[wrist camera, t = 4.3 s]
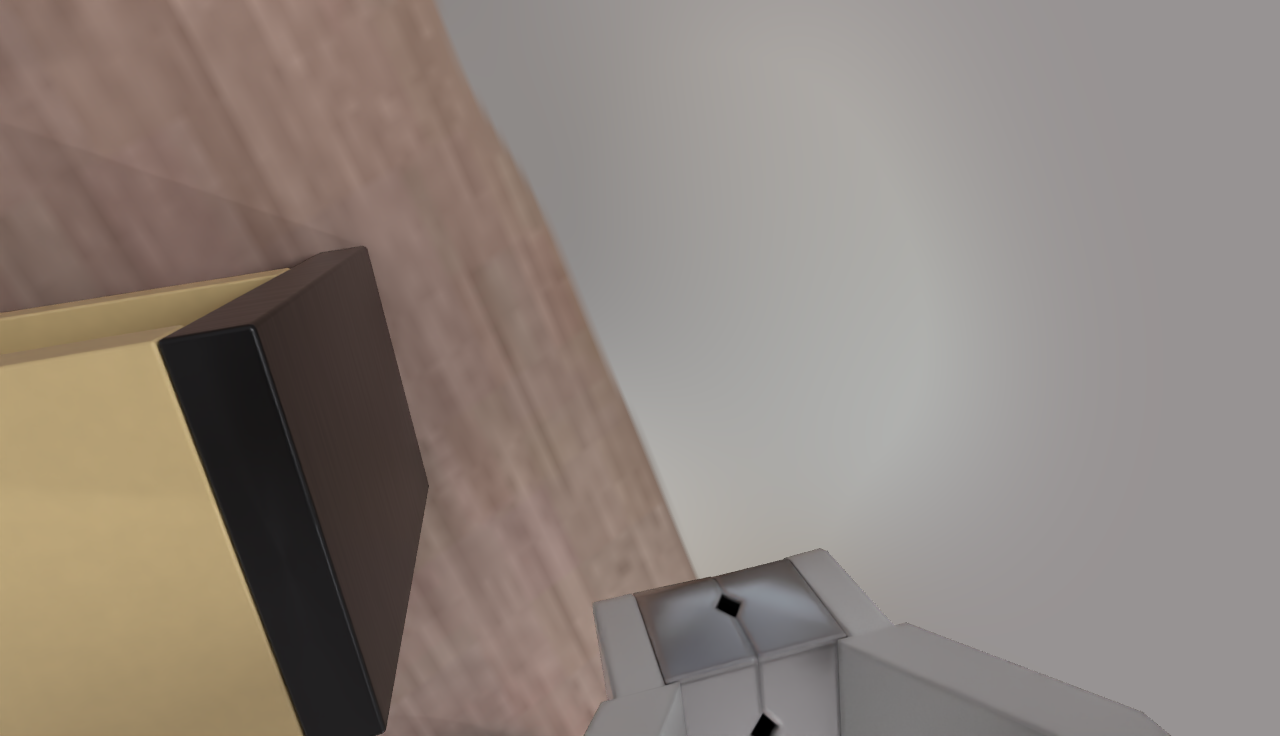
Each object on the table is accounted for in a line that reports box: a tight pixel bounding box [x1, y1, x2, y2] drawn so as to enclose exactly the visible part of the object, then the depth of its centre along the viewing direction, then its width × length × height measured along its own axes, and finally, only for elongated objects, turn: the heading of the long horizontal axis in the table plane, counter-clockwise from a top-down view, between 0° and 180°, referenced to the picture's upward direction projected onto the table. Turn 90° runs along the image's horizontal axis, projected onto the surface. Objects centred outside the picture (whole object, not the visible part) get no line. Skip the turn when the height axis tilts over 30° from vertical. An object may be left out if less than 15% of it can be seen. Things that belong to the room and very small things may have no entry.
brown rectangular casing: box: [0, 246, 429, 736], centre depth 13 cm, size 7×12×9 cm, turn 98°
